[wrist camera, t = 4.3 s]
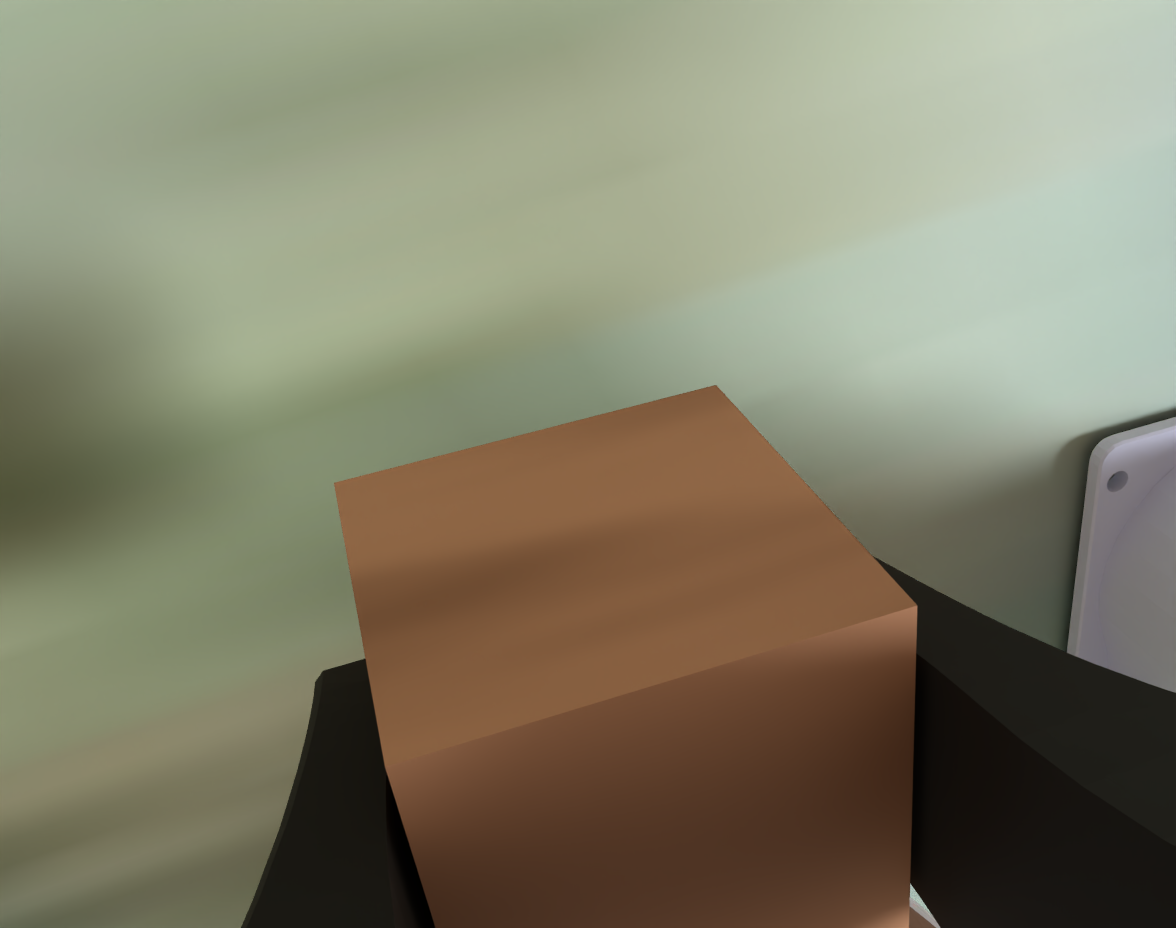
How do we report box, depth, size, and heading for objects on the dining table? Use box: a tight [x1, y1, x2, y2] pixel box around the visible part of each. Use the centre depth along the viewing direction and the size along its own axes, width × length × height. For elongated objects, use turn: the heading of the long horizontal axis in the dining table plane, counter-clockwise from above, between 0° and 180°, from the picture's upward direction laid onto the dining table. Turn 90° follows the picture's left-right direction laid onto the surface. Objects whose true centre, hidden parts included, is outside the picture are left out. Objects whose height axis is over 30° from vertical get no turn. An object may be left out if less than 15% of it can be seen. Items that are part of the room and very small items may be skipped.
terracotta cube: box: [334, 385, 917, 928], centre depth 12 cm, size 4×4×4 cm
